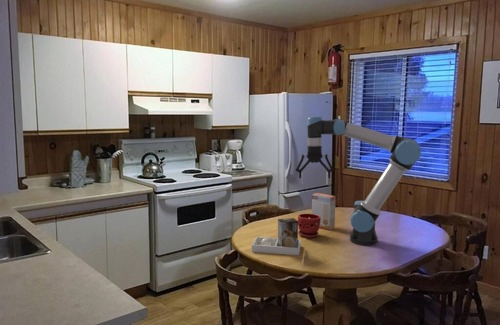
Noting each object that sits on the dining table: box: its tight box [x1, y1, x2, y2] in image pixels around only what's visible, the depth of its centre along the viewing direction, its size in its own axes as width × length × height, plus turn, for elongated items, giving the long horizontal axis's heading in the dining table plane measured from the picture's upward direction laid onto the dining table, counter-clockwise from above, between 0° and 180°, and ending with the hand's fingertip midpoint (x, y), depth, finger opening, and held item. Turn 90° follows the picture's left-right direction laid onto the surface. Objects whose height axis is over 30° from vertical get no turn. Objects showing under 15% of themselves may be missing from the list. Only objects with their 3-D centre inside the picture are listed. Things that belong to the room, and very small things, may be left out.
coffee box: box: [277, 217, 299, 248], centre depth 219 cm, size 9×6×16 cm
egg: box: [261, 237, 271, 246], centre depth 222 cm, size 5×5×5 cm
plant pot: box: [297, 213, 321, 239], centre depth 246 cm, size 13×13×12 cm
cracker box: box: [311, 192, 336, 231], centre depth 261 cm, size 14×6×21 cm, turn 44°
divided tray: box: [251, 236, 302, 256], centre depth 221 cm, size 24×14×4 cm, turn 79°
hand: (314, 184), depth 229 cm, fingers open, 13 cm apart
